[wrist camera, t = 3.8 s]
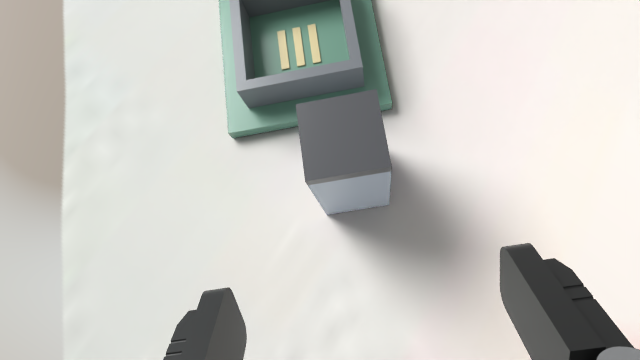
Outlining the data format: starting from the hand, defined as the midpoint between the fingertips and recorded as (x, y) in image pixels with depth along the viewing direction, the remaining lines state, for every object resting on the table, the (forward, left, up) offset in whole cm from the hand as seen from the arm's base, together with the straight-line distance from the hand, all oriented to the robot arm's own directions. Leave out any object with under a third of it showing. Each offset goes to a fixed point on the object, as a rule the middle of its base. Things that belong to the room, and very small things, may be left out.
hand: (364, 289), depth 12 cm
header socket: (+2, -16, -10) cm, 19 cm away
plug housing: (0, -7, -11) cm, 12 cm away
